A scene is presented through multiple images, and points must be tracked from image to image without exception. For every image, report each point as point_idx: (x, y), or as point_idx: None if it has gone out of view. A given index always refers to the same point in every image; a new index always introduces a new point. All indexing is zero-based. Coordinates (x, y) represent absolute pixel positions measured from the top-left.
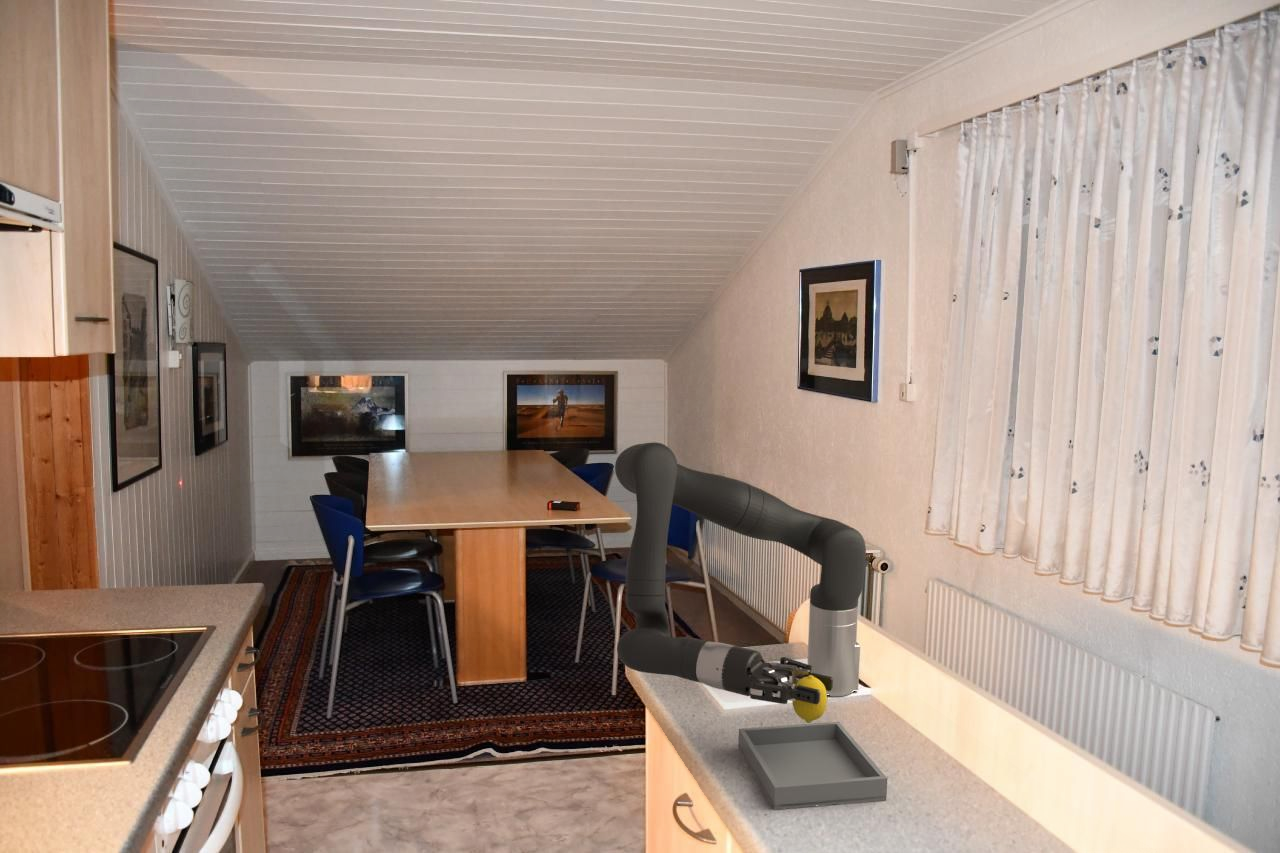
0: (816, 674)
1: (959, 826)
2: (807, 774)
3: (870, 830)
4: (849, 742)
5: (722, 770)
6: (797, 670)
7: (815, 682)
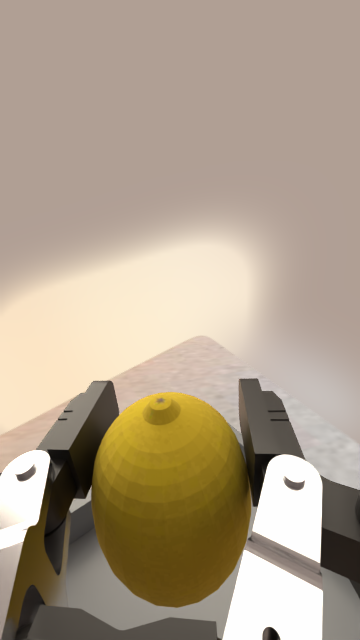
0: (74, 425)
1: (225, 374)
2: (225, 615)
3: (311, 437)
4: (81, 511)
5: None
6: (33, 525)
7: (185, 396)
